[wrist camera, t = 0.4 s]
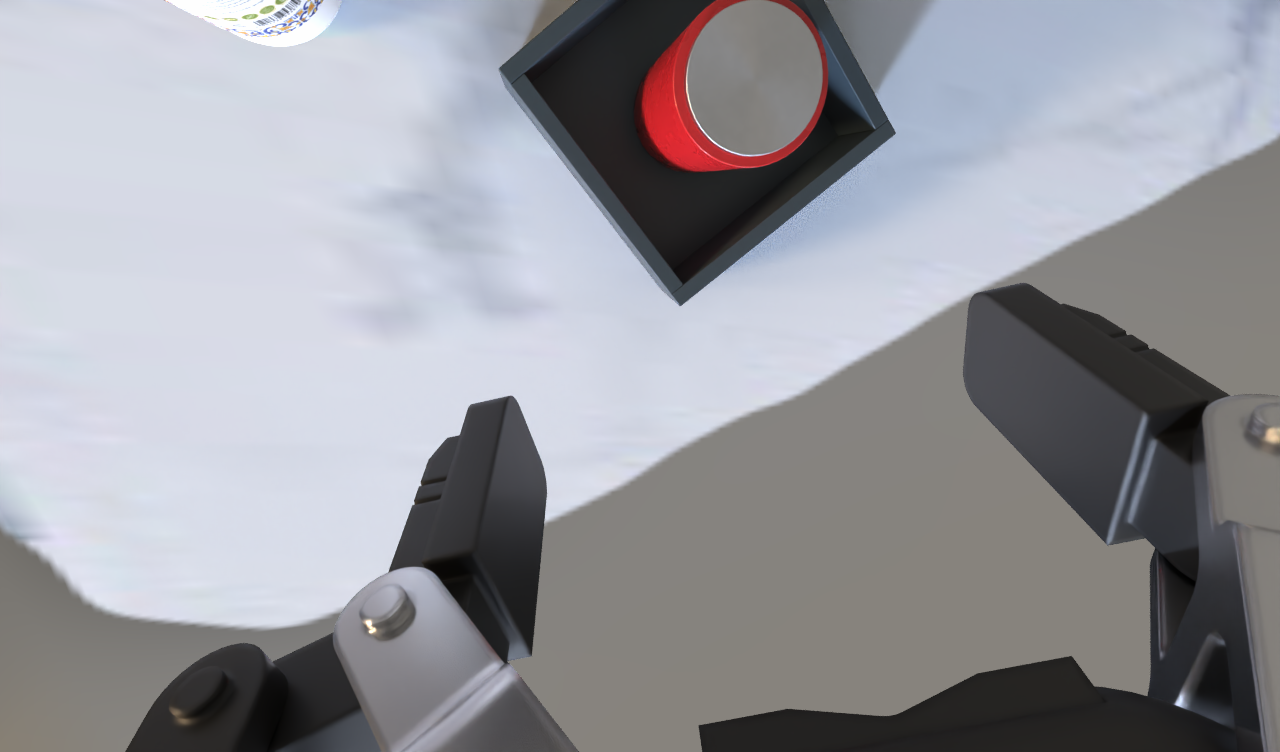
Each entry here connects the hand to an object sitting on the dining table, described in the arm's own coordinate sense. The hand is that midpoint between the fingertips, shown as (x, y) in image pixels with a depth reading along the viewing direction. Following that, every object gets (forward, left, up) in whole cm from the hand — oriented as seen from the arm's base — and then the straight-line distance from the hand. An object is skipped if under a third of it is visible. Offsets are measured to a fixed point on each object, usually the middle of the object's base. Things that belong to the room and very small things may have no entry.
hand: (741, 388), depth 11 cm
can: (-3, +8, -24) cm, 25 cm away
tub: (-3, +8, -25) cm, 26 cm away
